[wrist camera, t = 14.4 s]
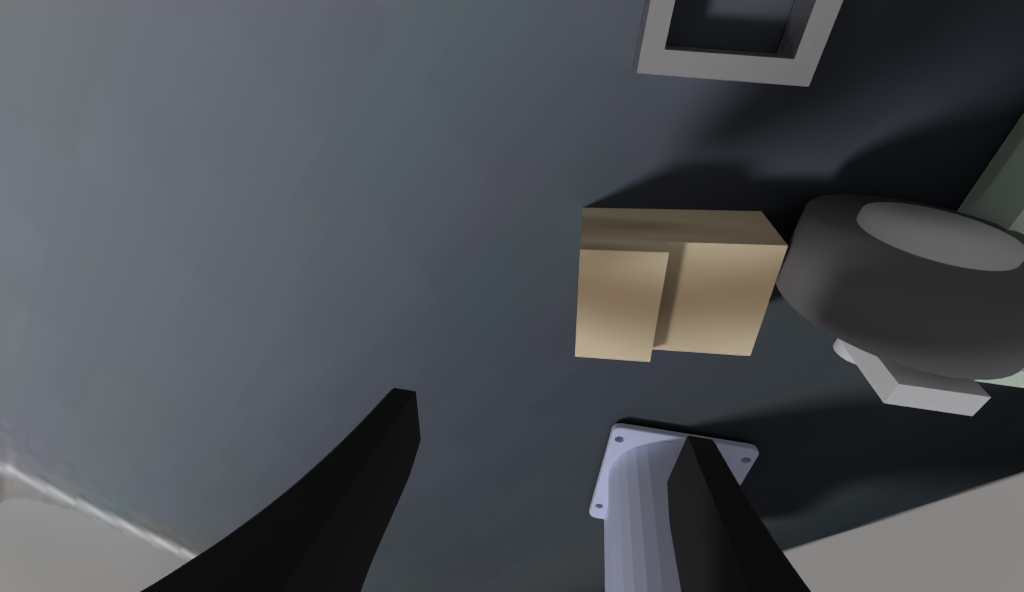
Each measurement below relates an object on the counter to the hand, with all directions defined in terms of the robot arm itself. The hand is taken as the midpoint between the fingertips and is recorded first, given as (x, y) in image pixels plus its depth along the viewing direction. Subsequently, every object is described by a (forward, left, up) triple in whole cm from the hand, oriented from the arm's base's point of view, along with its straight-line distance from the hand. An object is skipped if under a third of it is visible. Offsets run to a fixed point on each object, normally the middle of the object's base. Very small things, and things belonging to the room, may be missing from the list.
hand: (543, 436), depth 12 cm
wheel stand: (+3, -11, -10) cm, 15 cm away
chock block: (0, -4, -10) cm, 11 cm away
